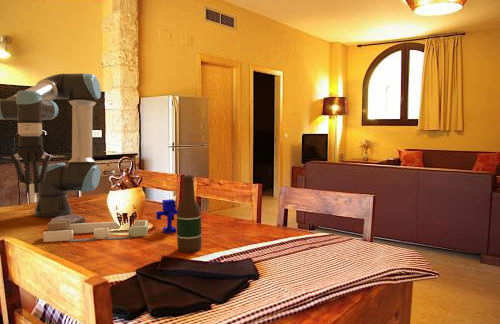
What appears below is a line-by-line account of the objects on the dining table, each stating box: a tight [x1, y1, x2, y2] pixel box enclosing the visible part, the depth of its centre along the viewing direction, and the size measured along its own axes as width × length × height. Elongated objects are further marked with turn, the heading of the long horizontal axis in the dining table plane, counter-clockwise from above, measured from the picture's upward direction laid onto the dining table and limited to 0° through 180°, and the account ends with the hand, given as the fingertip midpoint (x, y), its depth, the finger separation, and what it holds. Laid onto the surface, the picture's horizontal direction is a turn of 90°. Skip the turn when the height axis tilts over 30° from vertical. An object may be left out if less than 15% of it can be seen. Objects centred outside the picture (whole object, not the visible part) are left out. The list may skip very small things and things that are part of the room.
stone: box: [50, 213, 86, 224], centre depth 159 cm, size 12×9×5 cm
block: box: [47, 219, 70, 231], centre depth 145 cm, size 6×6×6 cm
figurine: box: [155, 198, 177, 234], centre depth 152 cm, size 8×8×12 cm
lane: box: [42, 219, 149, 243], centre depth 148 cm, size 11×35×4 cm, turn 102°
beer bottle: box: [176, 174, 203, 254], centre depth 129 cm, size 8×8×24 cm
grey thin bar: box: [69, 235, 131, 243], centre depth 142 cm, size 2×20×1 cm, turn 102°
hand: (33, 202), depth 142 cm, fingers closed
